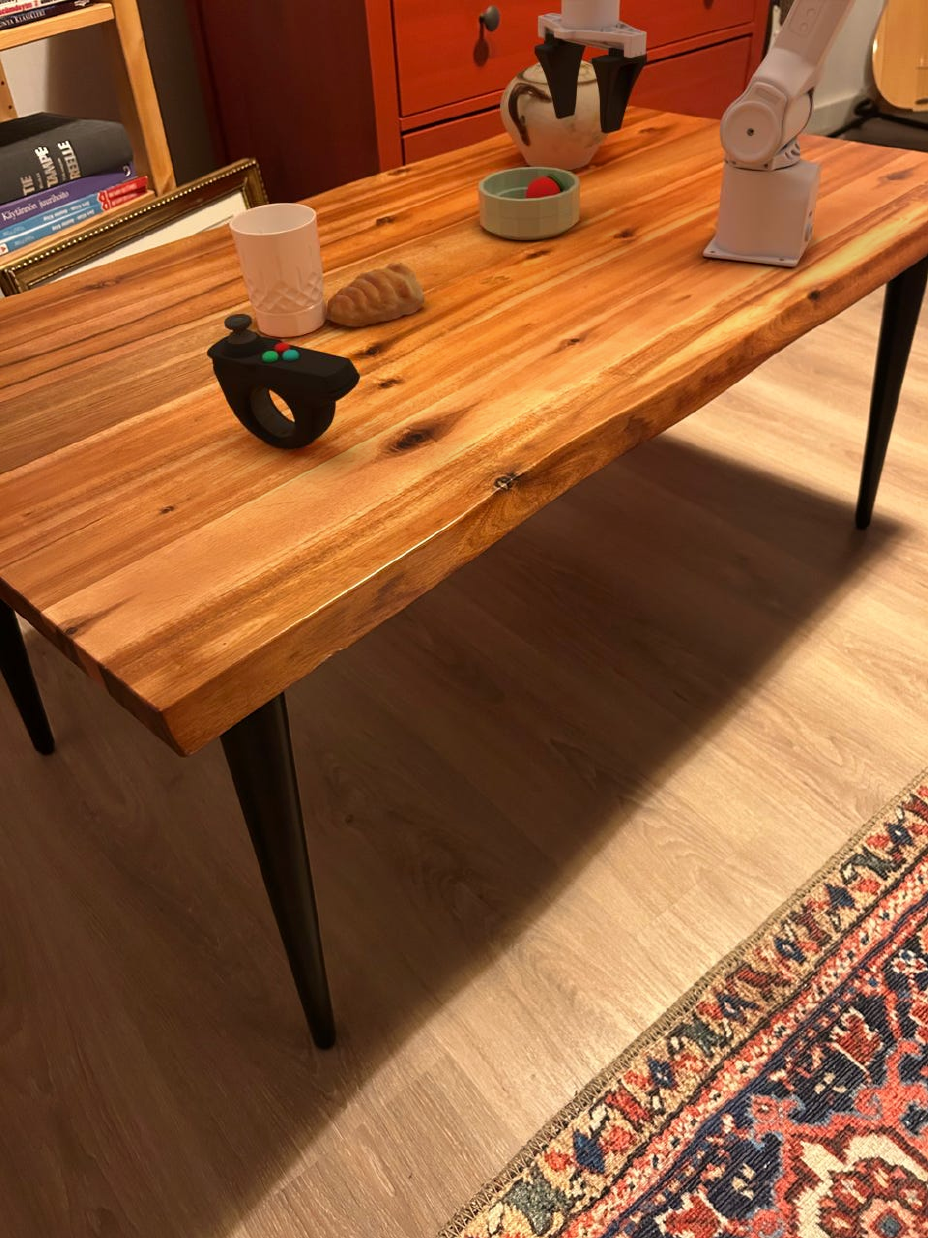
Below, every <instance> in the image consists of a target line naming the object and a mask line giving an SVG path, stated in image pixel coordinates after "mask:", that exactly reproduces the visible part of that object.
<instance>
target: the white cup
mask: <svg viewBox="0 0 928 1238" xmlns="http://www.w3.org/2000/svg"><path fill="white" fill-rule="evenodd" d="M228 224H229V229H230V232H231V237H232V241H233V244H234V249H235V251H236V255H237V258H238V263H239V268H240V270H241V271H240V272H241V274H242V279H243V282H244V285H245V289H246V291H247V296H248V299H249V303H250V304H251V307H252V309H253V314H254V317H255V321H256V325H257V327H258V330H259V331H260V333H263V334H265V335H267V336H269V337H275V338H290V337H292V338H293V337H299V336H303V335H307V334H309V333H312V332H315V331H316V330H317V329H320V328H321V327H323V326H324V324H325V322H326V320H327V319H328V318H327V306H326V299H325V295H324V294H325V281H324V275H323V273H324V272H323V271H324V270H323V259H322V251H321V241H320V235H319V233H320V232H319V225H318V217H317V212H316V210H315V209H314V208H312V207H310V206H308V205H305V204H300V203H291V202H290V203H287V202H286V203H285V202H284V203H282V202H281V203H271V204H265V205H260V206H255V207H252V208H248V209H246V210H244V211H241V212H239V213H238V214H236V215H234V216H233V217H232V218H231V219H230V220H229V223H228Z"/></svg>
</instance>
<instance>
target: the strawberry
mask: <svg viewBox="0 0 928 1238" xmlns="http://www.w3.org/2000/svg"><path fill="white" fill-rule="evenodd" d="M563 191H564V186H563V184H562V182H561V181H560V180H559V179H558V178H557V177H556V176H555V175H553V174H549V175H548V176H547V177H540V178H537V179H535V180H534V181H532V182H531V183H530V185H529V186H528V188H527V191H526V199H531V198H542V197H548V196H553V195H557V194H559V193H562V192H563Z"/></svg>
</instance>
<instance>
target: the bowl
mask: <svg viewBox="0 0 928 1238" xmlns="http://www.w3.org/2000/svg"><path fill="white" fill-rule="evenodd" d="M549 174H553V175H555V176H556V177H557V178H558V179H559V180H560V181H561V182H562V184H563V186H564V191H563V192H562V193H559V194H557V195H553V196H548V197H542V198H531V199H526V191H527V188H528V186H529V185H530V183H531V182H532V181H534V180H535V179H537V178H540V177H547V176H548V175H549ZM580 182H581V181H580V177H579V176H578V175H576V174H574V173H573V172H572V171H570V170H567V171H565V170H561V169H558V168H548V167H532V166H525V167H523V166H521V167H515V168H510V169H502V170H499V171H498V172H494V173H490V174H488V175H486V176H485V177H484V178H482V179H481V180H480V181H479V182H478V188H477V194H478V209H479V210H478V214H479V217H478V218H479V225H480V226H481V227H482V228H483V229H485V230H486V231H487V232H489V233H491V234H493V235H494V236H497V237H500V238H503V239H508V240H517V241H532V240H541V239H547V238H552V237H555V236H558V235H561V234H563V233H565V232H567V231H568V230H569V229H571V228H572V227H573V226H575V225H576V224H577V223H578V222H579V221H580V205H581V204H580V203H581V202H580V200H581V199H580V197H581V183H580Z"/></svg>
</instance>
